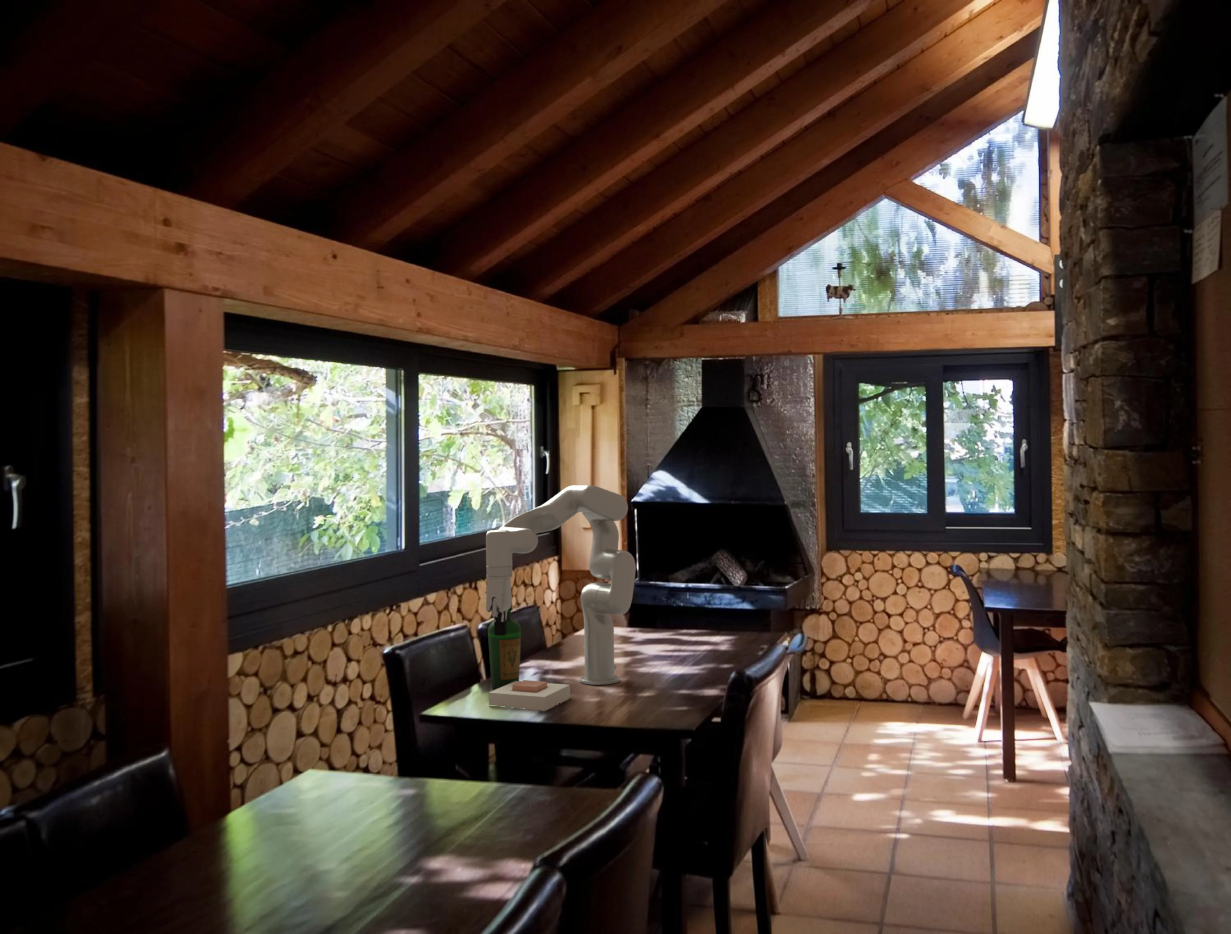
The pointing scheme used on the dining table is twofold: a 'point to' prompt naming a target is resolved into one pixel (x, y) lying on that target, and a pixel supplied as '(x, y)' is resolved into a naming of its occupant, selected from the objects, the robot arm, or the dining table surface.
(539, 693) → the panel
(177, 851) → the dining table surface
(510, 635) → the bottle
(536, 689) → the button
